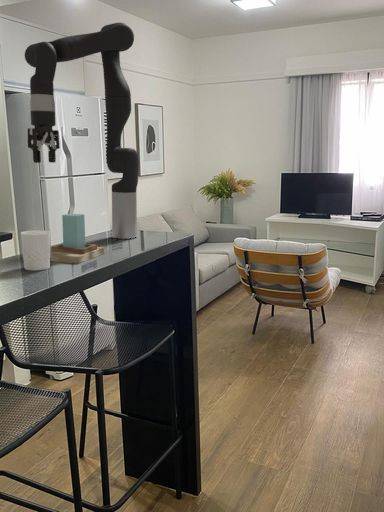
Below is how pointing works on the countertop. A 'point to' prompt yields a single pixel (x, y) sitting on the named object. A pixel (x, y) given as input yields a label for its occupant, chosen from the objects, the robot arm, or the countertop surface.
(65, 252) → the tan flat rimmed tray
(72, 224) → the pale teal block
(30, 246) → the white cup
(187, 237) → the countertop surface
